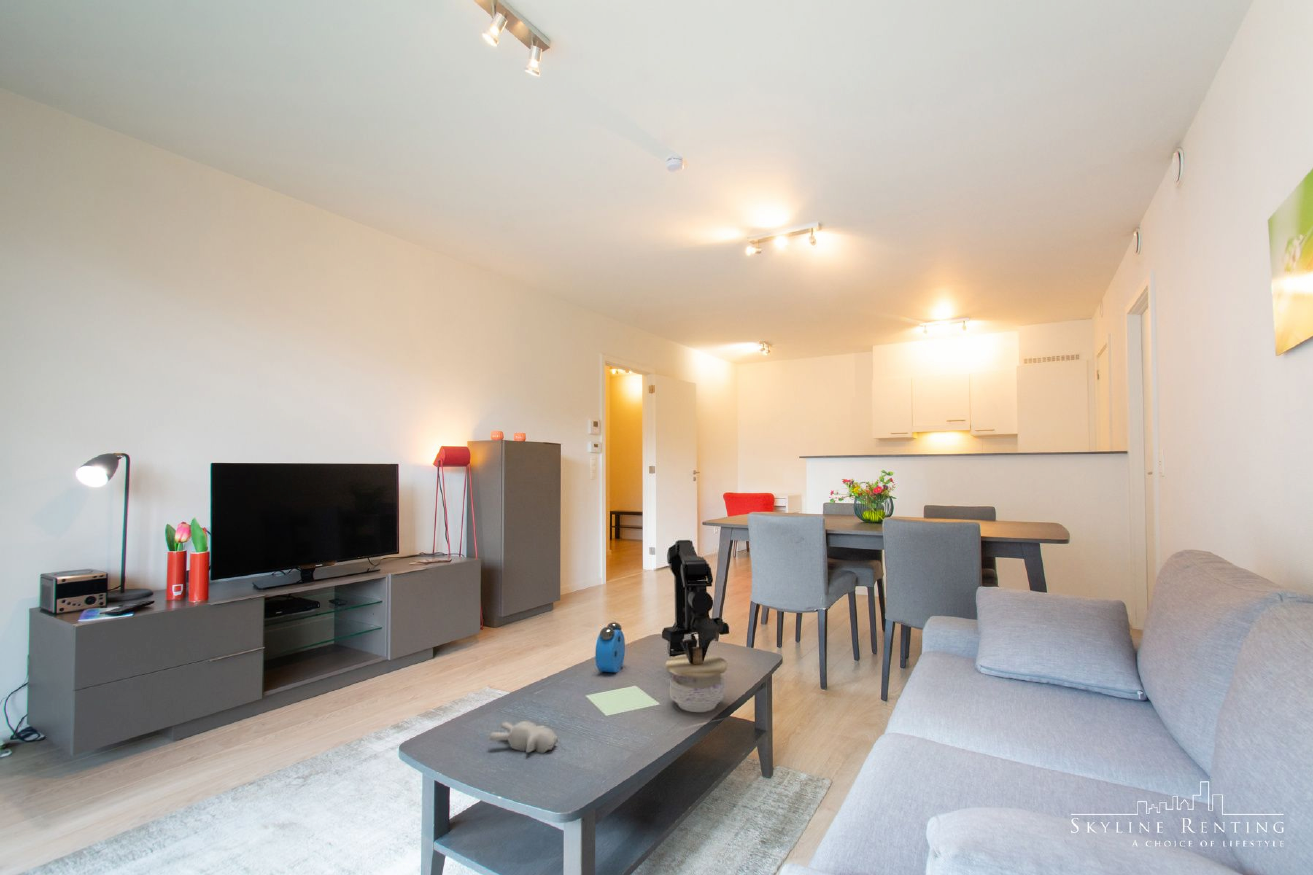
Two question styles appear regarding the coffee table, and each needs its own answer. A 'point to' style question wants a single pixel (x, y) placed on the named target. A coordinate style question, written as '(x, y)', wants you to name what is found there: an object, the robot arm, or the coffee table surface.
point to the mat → (621, 700)
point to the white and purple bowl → (697, 692)
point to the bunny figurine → (527, 736)
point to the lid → (696, 665)
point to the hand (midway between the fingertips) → (696, 662)
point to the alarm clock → (610, 648)
